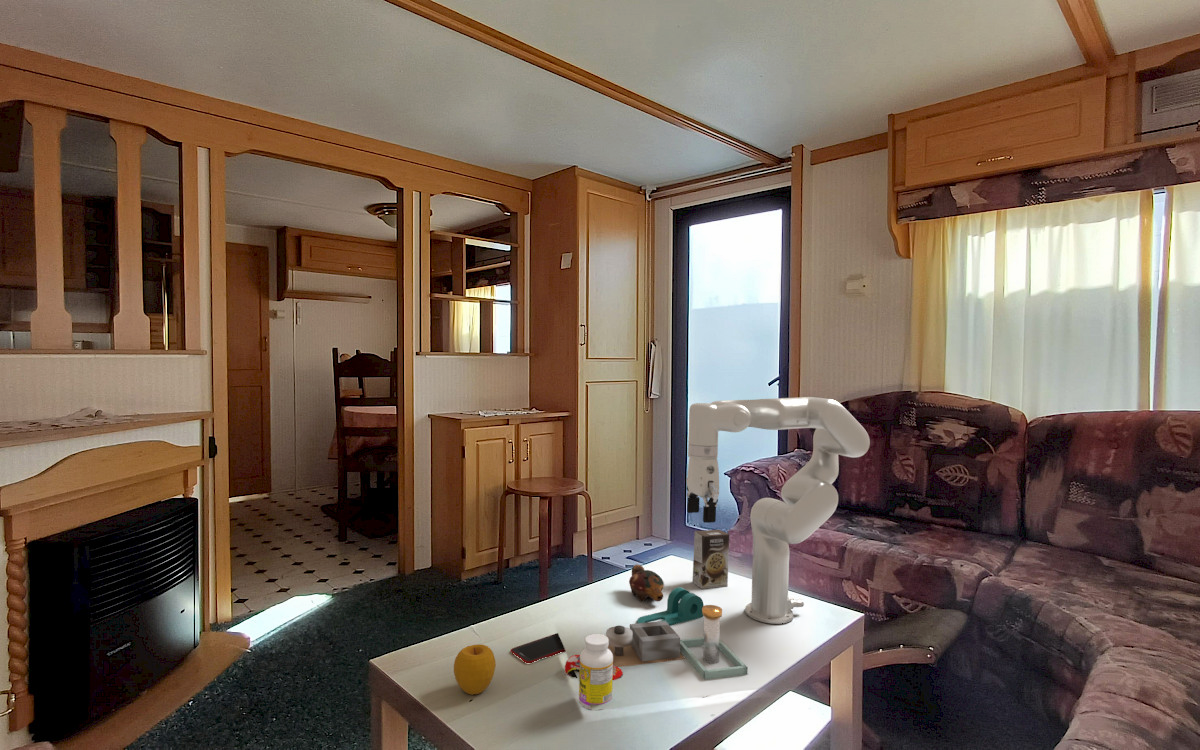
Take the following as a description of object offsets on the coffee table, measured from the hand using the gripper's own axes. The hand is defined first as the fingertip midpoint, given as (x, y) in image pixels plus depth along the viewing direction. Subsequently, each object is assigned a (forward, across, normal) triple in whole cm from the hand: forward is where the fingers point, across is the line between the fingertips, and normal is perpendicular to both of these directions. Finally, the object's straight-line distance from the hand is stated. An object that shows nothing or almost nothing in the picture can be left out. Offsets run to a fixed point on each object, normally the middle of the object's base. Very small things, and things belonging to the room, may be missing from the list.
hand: (700, 517), depth 156 cm
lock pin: (+28, -20, +6) cm, 35 cm away
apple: (+28, -18, +58) cm, 67 cm away
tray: (+28, -20, +6) cm, 35 cm away
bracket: (+29, +2, +8) cm, 30 cm away
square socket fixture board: (+28, -13, +20) cm, 37 cm away
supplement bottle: (+28, -28, +35) cm, 53 cm away
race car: (+29, -18, +33) cm, 47 cm away
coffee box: (+28, +26, -16) cm, 42 cm away
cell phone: (+29, -4, +41) cm, 50 cm away
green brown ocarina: (+29, +20, +7) cm, 36 cm away
